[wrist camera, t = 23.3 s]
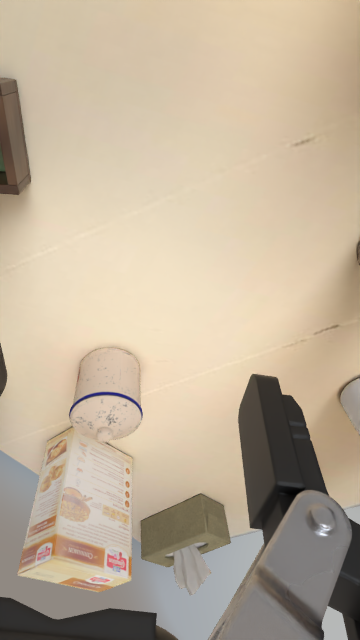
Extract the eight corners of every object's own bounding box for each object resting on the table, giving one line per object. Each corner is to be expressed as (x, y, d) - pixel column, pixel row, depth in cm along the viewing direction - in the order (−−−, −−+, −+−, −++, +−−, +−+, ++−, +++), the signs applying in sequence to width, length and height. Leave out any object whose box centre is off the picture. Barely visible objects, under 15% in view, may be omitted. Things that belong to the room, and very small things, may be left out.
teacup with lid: (65, 358, 48) (48, 431, 39) (123, 336, 46) (119, 405, 37) (108, 405, 55) (103, 476, 46) (160, 387, 53) (164, 456, 44)
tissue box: (164, 531, 88) (169, 609, 75) (139, 521, 83) (140, 603, 70) (225, 505, 82) (240, 585, 70) (202, 492, 77) (214, 577, 64)
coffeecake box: (45, 441, 59) (14, 576, 44) (74, 423, 57) (52, 559, 42) (106, 471, 67) (97, 594, 52) (133, 457, 65) (133, 581, 50)
